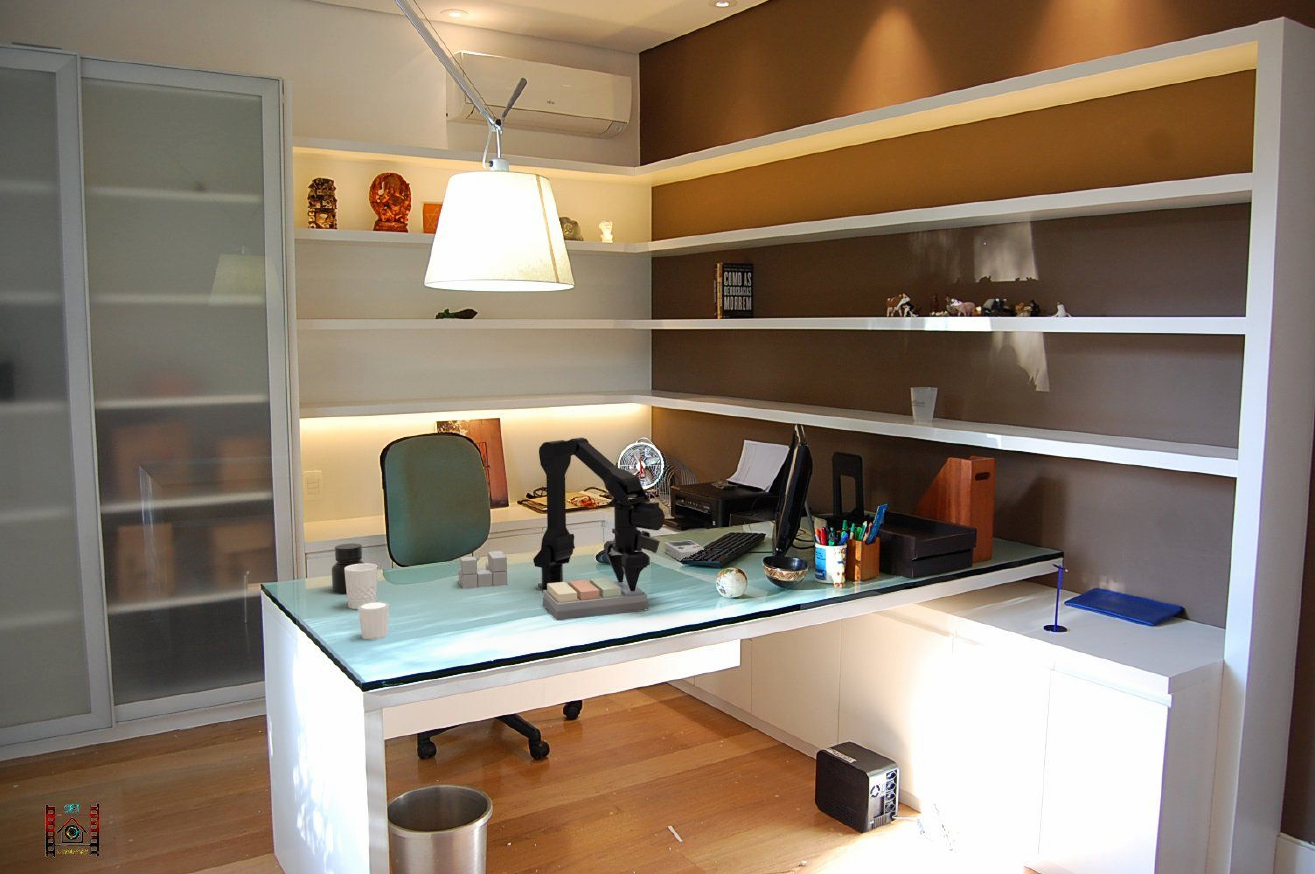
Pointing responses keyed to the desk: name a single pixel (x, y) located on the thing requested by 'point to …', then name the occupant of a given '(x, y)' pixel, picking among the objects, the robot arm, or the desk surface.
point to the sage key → (606, 587)
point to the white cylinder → (374, 619)
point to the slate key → (626, 590)
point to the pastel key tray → (594, 606)
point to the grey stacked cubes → (483, 571)
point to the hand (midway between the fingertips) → (626, 586)
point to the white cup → (361, 584)
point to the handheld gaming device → (682, 548)
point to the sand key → (561, 592)
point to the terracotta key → (584, 590)
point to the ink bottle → (344, 564)
